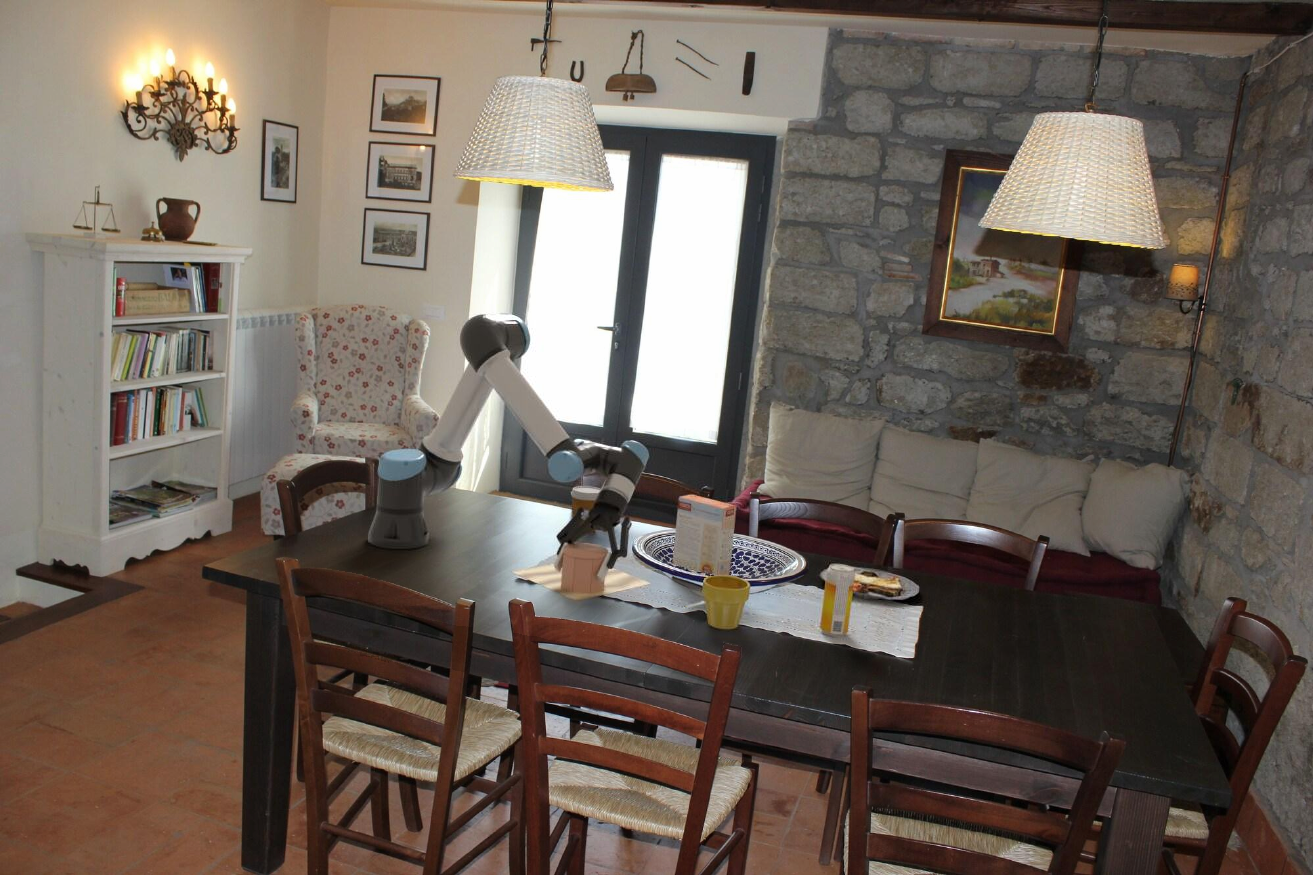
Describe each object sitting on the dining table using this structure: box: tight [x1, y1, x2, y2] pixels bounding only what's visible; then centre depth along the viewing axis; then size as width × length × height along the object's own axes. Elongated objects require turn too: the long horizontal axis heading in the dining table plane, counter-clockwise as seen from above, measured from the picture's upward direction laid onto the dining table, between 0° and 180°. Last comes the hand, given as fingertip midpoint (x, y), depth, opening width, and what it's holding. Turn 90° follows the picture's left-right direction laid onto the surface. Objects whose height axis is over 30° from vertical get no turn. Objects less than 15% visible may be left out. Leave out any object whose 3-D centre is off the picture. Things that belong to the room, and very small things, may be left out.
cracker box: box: [671, 494, 737, 576], centre depth 245 cm, size 14×6×21 cm, turn 50°
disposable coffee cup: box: [570, 485, 601, 534], centre depth 284 cm, size 10×10×12 cm
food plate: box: [818, 566, 920, 601], centre depth 255 cm, size 25×23×4 cm
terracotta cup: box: [561, 542, 609, 594], centre depth 233 cm, size 10×10×9 cm
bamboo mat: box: [511, 563, 652, 602], centre depth 240 cm, size 24×24×1 cm
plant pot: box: [701, 575, 751, 630], centre depth 217 cm, size 10×10×10 cm
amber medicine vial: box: [819, 563, 855, 638], centre depth 218 cm, size 6×6×15 cm
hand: (578, 573), depth 230 cm, fingers closed on terracotta cup, 11 cm apart
